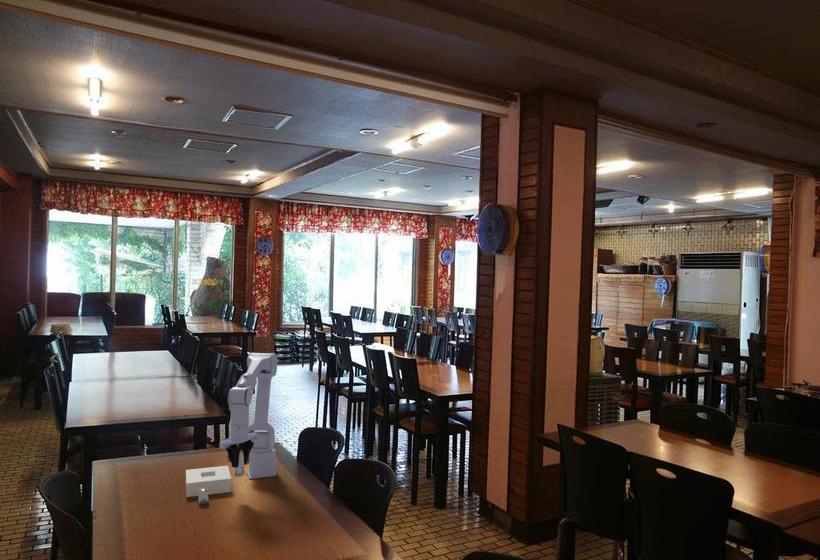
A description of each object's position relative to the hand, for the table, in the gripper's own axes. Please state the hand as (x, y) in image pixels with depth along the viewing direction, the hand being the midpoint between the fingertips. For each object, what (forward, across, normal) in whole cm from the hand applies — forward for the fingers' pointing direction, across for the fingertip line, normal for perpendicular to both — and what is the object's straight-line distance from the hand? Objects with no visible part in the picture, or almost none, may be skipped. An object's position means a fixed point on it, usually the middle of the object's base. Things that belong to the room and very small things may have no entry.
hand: (239, 465), depth 191 cm
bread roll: (+11, -28, -31) cm, 44 cm away
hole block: (+10, 0, -16) cm, 19 cm away
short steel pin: (+10, +9, -6) cm, 15 cm away
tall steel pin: (+3, 0, 0) cm, 3 cm away
